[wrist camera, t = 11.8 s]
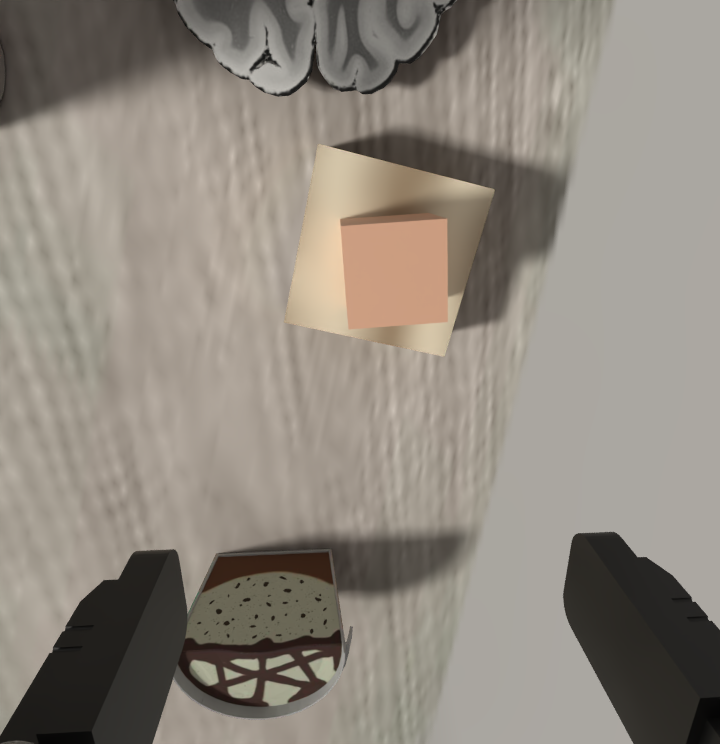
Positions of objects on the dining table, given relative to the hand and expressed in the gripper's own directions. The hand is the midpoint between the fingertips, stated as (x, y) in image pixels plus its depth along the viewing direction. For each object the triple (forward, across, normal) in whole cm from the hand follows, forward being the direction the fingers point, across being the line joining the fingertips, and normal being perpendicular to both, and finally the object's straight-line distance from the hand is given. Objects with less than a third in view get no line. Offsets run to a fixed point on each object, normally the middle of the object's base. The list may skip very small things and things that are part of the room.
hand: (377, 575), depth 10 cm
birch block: (+26, -2, -3) cm, 27 cm away
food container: (+26, +6, +24) cm, 36 cm away
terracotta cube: (+21, -2, -3) cm, 22 cm away
